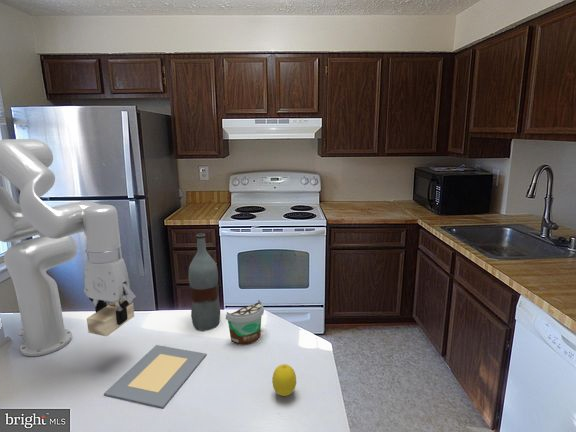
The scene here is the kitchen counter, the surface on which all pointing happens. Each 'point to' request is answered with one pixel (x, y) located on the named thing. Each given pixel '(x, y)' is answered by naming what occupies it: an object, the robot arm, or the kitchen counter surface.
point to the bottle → (204, 288)
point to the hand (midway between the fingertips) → (112, 319)
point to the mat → (156, 376)
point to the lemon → (284, 380)
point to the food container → (245, 324)
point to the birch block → (107, 319)
